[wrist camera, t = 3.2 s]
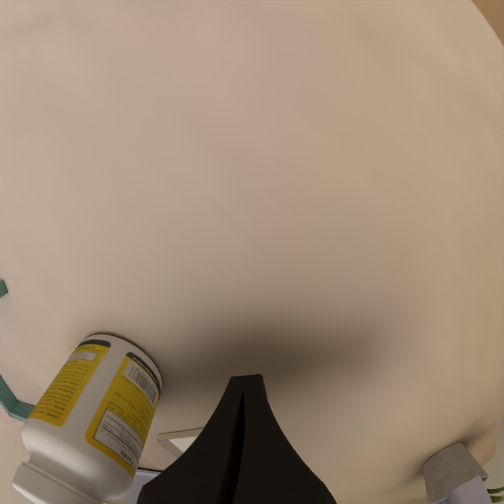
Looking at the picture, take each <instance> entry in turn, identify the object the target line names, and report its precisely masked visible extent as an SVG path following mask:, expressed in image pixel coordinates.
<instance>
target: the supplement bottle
mask: <svg viewBox="0 0 504 504" xmlns="http://www.w3.org/2000/svg"><path fill="white" fill-rule="evenodd" d="M161 389H162V380H161V376H160V374H159V371H158V369H157V368H156V366H155V365H154V363H153V362H152V361H151V359H150V358H149V357H148V356H147V355H146V354H145V353H144V352H142V351H141V350H140V349H138V348H137V347H135V346H134V345H132V344H131V343H129V342H127V341H125V340H122V339H120V338H117V337H114V336H110V335H102V334H101V335H92V336H89V337H87V338H86V339H84V340H83V341H82V342H81V343H80V344H79V346H78V347H77V348H76V350H75V351H74V352H73V353H72V355H71V356H70V358H69V359H68V360H67V362H66V363H65V365H64V366H63V367H62V369H61V370H60V372H59V373H58V374H57V376H56V377H55V379H54V380H53V381H52V383H51V384H50V386H49V387H48V389H47V390H46V392H45V393H44V395H43V396H42V398H41V399H40V401H39V402H38V404H37V405H36V406H35V408H34V409H33V411H32V412H31V414H30V416H29V417H28V419H27V420H26V422H25V424H24V426H23V428H22V440H23V443H24V445H25V448H26V449H27V451H28V452H29V454H30V455H31V457H30V460H29V462H22V465H20V466H19V467H18V469H17V472H16V474H15V476H14V478H13V480H12V485H13V487H14V488H15V489H17V490H18V491H19V492H20V493H22V494H23V495H24V496H26V497H27V498H28V499H30V500H31V501H33V502H34V503H36V504H103V503H104V501H105V500H106V499H119V498H122V497H124V496H125V495H127V494H128V493H129V491H130V489H131V486H132V483H133V480H134V477H135V474H136V470H137V467H138V463H139V460H140V457H141V454H142V451H143V448H144V444H145V441H146V438H147V435H148V431H149V429H150V425H151V423H152V419H153V416H154V413H155V410H156V407H157V404H158V401H159V398H160V394H161Z"/></svg>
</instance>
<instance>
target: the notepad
mask: <svg viewBox="0 0 504 504" xmlns="http://www.w3.org/2000/svg"><path fill="white" fill-rule="evenodd" d="M203 429H204V428H202V429H196V430H189V431H182V432H174V433H165V434H159V435H158V439H157V441H158V442H159V443H160V444H161V445H162V446H163V447H165V448H166V449H167V450H168V451H169V452H171V453H172V454H173V455H174V456H176V457H177V458H179V457H180V456H181V455H182V454H183V453H184V452H185V451H186V450H187V448H188V447H189V446H190V445H191V444H192V443H193V442H194V440H195V439H196V438H197V437H198V435H199V434H200V433H201V431H202V430H203Z"/></svg>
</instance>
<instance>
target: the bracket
mask: <svg viewBox="0 0 504 504" xmlns="http://www.w3.org/2000/svg"><path fill="white" fill-rule="evenodd" d="M7 292H8V291H7V289H6V286H5V284H4V281H0V298H1V297H2V296H3V295H5V294H6V293H7ZM0 404H1V405H2V407H3V408H4V409H5V411H6V412H7V413H8V414H9V416H11V417H13V418H15V419H18V420H20V421H23V422H26V420H27V419H28V417H29V416H30V414H31V412H32V411H33V409H34V408H35V406H32V405H29V404H26V403H23V402H20V401H17V399H16V398H15V397H14V395H13V394H12V392H11V391H10V389H9V388H8V387H7V385H6V384H5V382H4V381H3V379H2V378H1V376H0Z"/></svg>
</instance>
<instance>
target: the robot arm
mask: <svg viewBox="0 0 504 504" xmlns="http://www.w3.org/2000/svg"><path fill="white" fill-rule="evenodd" d="M121 504H337V503H336V501H335V499H334V498H333V496H332V495H331V493H330V492H329V490H328V489H327V487H326V486H325V484H324V483H323V482H322V481H321V480H320V479H319V478H318V477H317V476H316V475H315V474H314V473H313V472H312V471H311V470H310V468H309V467H308V466H307V465H306V464H305V463H304V462H303V460H302V459H301V458H300V456H299V455H298V454H297V453H296V451H295V450H294V449H293V447H292V446H291V444H290V443H289V441H288V440H287V438H286V437H285V435H284V433H283V432H282V430H281V428H280V426H279V425H278V423H277V421H276V419H275V417H274V415H273V413H272V410H271V408H270V405H269V403H268V399H267V395H266V390H265V385H264V381H263V376H262V375H260V374H255V375H246V376H235V377H231V378H230V380H229V383H228V385H227V388H226V390H225V392H224V394H223V396H222V398H221V400H220V402H219V404H218V406H217V408H216V409H215V411H214V413H213V415H212V416H211V418H210V419H209V421H208V423H207V424H206V426H205V427H204V429H203V430H202V431H201V433H200V434H199V435H198V437H197V438H196V439H195V440H194V442H193V443H192V444H191V445H190V446H189V447H188V448H187V450H186V451H185V452H184V453H183V454H182V455H181V456H180V457H179V458H178V459H177V460H176V461H175V462H173V463H172V464H171V465H170V466H169V467H168V468H167V469H165V470H164V471H163V472H154V471H147V470H141V469H137V470H136V474H135V477H134V480H133V483H132V486H131V489H130V491H129V493H128V494H127V495H125V496H124V497H123V499H122V502H121ZM431 504H493V503H492V501H491V499H490V496H489V494H488V492H487V489H486V487H485V485H484V483H483V480H482V478H481V476H480V475H477V476H476V477H474V478H472V479H471V480H469V481H467V482H465V483H464V484H462V485H460V486H458V487H456V488H455V489H453V490H452V491H451V492H450V493H449V494H448V495H447V496H446V497H444V498H441V499H439V500H437V501H435V502H433V503H431Z"/></svg>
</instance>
